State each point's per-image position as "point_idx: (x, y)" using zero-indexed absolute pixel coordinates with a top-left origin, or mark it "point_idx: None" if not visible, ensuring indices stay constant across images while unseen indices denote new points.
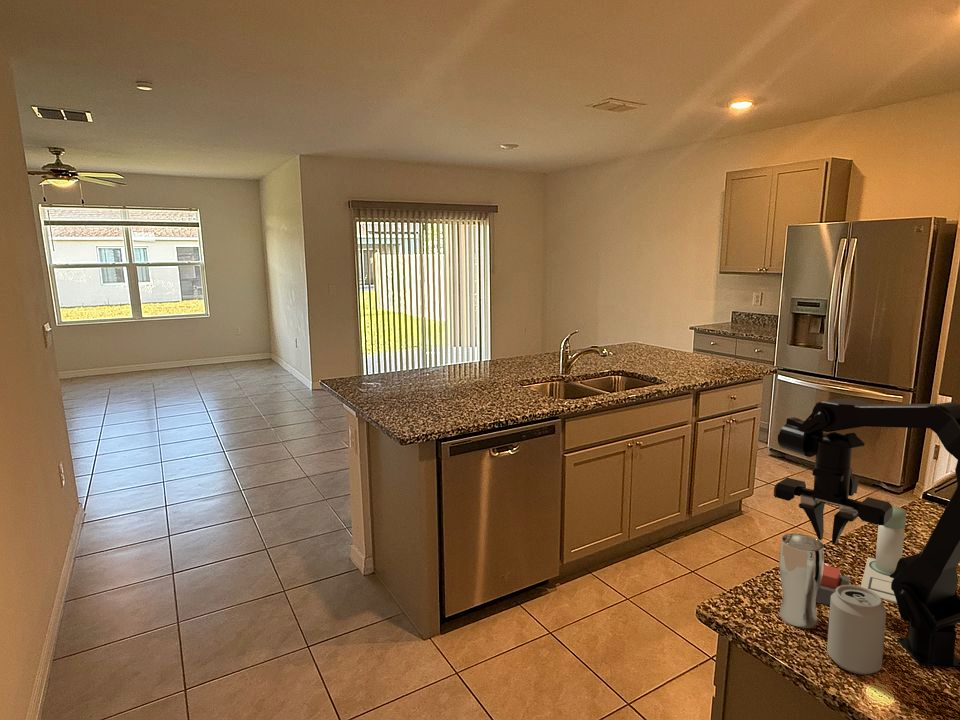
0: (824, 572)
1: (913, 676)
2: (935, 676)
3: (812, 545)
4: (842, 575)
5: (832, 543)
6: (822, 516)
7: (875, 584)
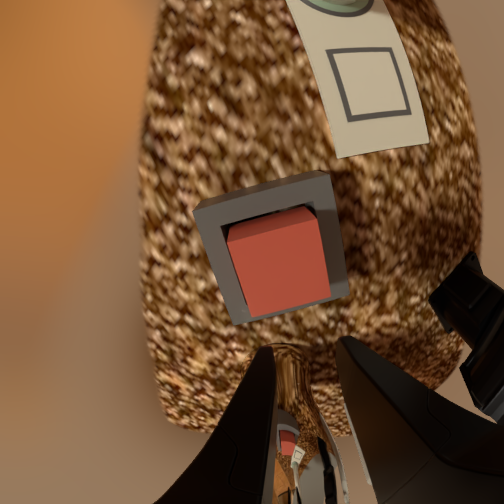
0: (286, 289)
1: (436, 355)
2: (456, 333)
3: (307, 498)
4: (306, 181)
5: (336, 363)
6: (266, 475)
7: (353, 87)
